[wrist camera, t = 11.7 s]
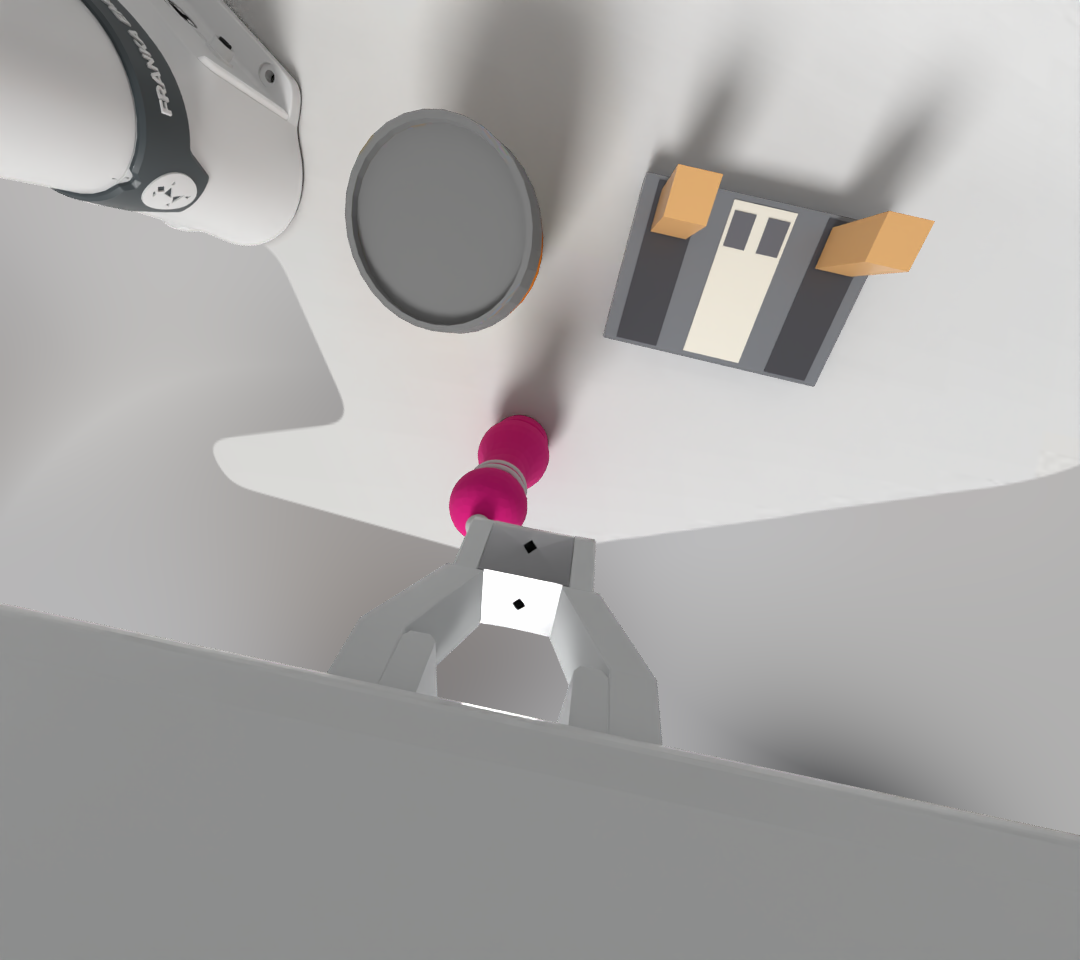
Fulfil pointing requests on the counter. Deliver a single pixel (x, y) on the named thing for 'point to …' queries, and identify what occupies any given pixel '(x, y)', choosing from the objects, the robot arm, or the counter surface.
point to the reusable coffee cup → (443, 222)
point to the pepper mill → (501, 474)
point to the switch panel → (734, 287)
